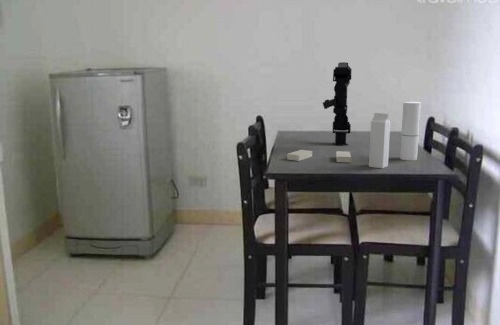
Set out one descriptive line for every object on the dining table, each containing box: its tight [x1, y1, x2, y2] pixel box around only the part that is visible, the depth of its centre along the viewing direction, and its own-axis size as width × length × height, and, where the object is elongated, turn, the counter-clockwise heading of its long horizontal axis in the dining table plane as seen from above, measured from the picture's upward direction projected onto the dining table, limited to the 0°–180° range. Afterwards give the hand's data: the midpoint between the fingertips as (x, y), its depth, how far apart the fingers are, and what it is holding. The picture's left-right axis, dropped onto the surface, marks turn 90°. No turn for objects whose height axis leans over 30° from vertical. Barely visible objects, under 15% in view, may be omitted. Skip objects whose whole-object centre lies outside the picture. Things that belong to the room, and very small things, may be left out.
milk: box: [368, 112, 391, 169], centre depth 192 cm, size 6×6×22 cm
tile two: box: [286, 149, 313, 162], centre depth 211 cm, size 3×6×12 cm
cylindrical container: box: [399, 101, 422, 161], centre depth 206 cm, size 7×7×25 cm
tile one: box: [335, 150, 352, 164], centre depth 207 cm, size 3×6×12 cm
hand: (340, 126), depth 226 cm, fingers closed
